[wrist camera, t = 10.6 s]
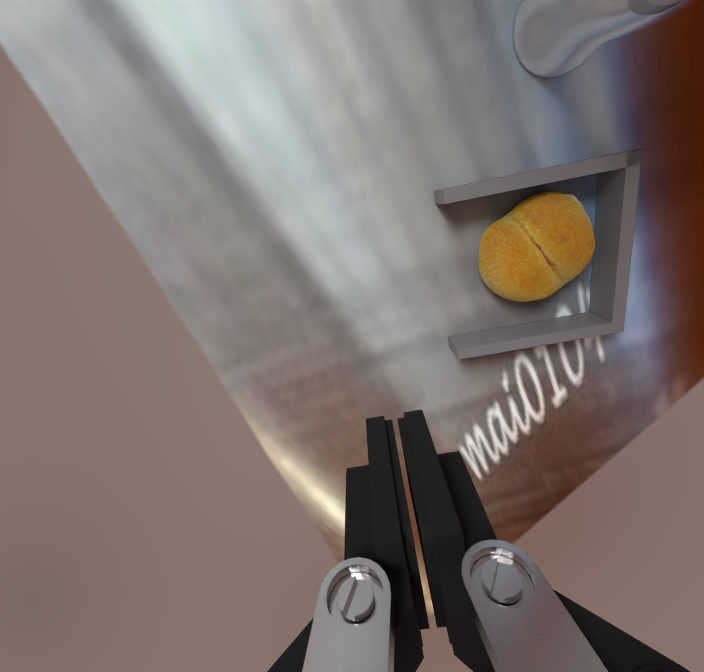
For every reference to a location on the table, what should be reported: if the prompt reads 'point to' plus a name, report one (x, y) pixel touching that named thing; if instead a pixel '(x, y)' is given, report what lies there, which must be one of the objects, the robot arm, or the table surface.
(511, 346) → the frame
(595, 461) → the table surface
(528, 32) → the beer glass
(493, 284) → the bread roll
